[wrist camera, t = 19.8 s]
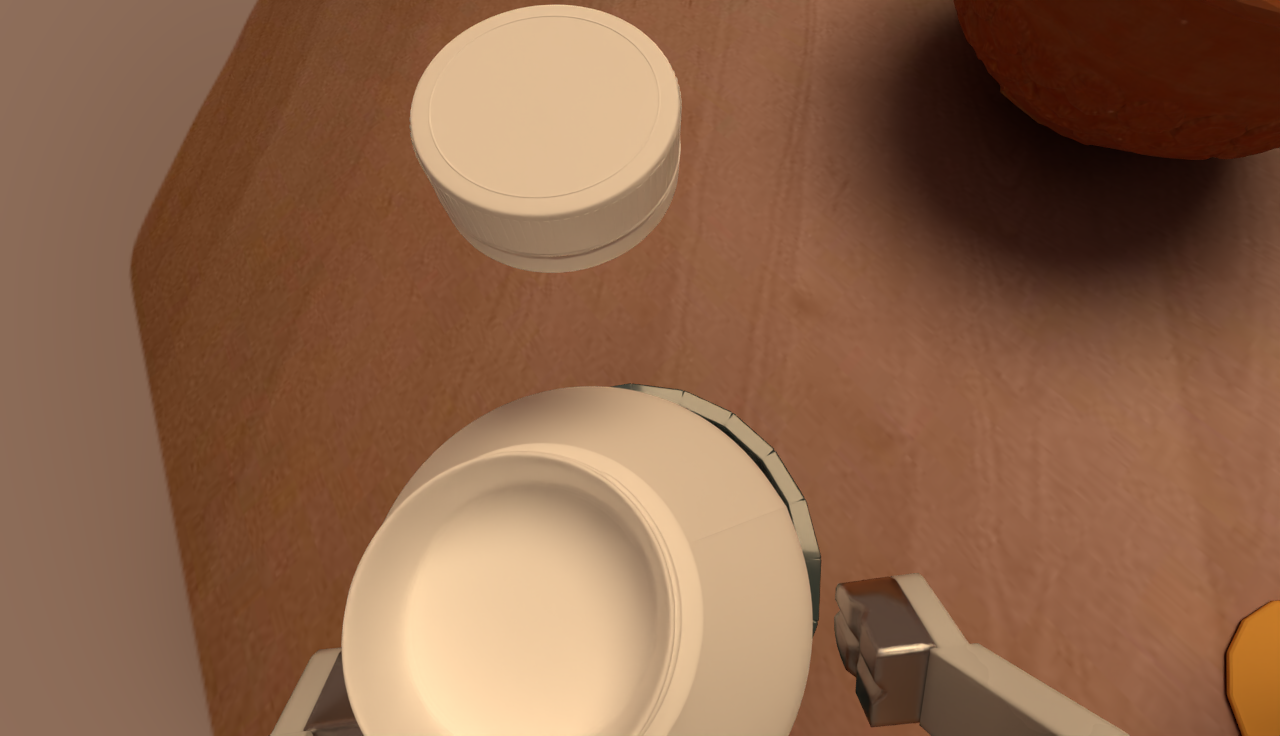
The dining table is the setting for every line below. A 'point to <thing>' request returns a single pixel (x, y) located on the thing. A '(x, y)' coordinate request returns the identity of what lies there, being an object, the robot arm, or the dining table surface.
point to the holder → (767, 464)
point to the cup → (1256, 672)
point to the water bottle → (572, 449)
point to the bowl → (1138, 70)
